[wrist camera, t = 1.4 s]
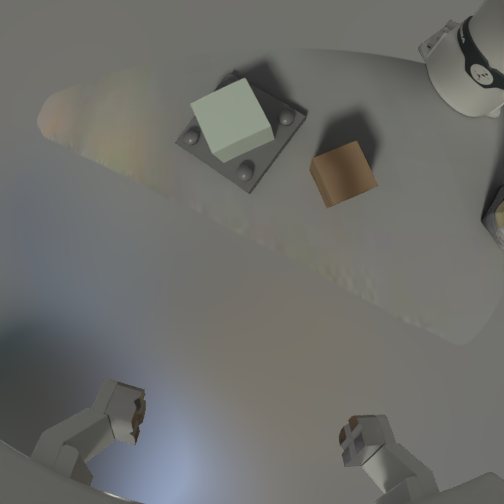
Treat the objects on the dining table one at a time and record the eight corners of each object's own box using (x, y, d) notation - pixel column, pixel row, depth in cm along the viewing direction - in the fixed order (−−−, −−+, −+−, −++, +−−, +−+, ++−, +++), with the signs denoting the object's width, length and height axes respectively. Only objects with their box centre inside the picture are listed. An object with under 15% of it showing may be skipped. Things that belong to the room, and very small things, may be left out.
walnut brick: (346, 155, 40) (356, 140, 32) (363, 192, 40) (377, 185, 32) (309, 170, 41) (312, 158, 33) (326, 208, 41) (333, 204, 33)
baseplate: (231, 76, 41) (219, 54, 34) (305, 119, 40) (306, 100, 33) (178, 145, 43) (158, 132, 36) (250, 194, 42) (240, 188, 35)
